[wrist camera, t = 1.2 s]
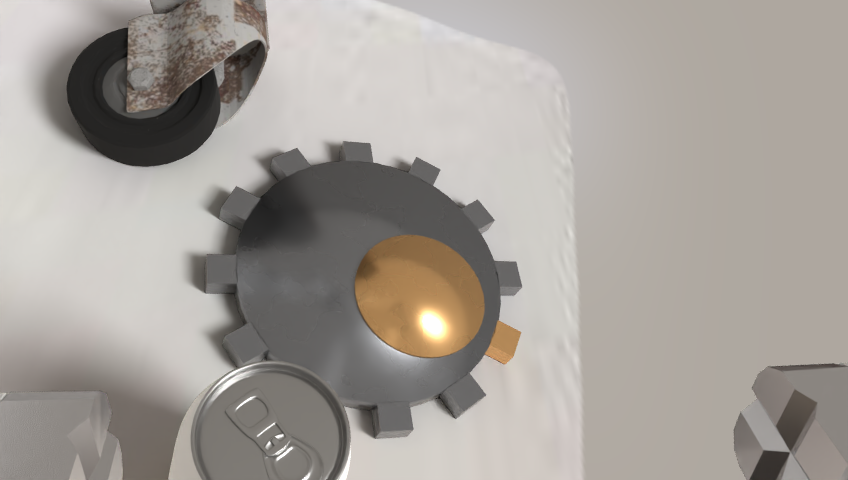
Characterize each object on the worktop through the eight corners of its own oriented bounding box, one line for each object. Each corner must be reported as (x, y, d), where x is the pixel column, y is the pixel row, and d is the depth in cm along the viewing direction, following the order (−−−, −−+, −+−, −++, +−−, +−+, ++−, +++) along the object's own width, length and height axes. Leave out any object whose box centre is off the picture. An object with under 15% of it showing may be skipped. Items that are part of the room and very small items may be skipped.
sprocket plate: (136, 337, 39) (136, 326, 38) (296, 107, 50) (300, 93, 49) (461, 498, 40) (471, 491, 39) (546, 238, 51) (555, 227, 50)
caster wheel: (85, 186, 45) (91, 47, 49) (276, 177, 47) (269, 44, 51) (49, 130, 39) (59, -25, 43) (271, 123, 41) (263, -25, 45)
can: (217, 616, 34) (255, 574, 24) (133, 500, 35) (137, 418, 25) (326, 518, 37) (397, 449, 28) (247, 417, 39) (288, 318, 29)
